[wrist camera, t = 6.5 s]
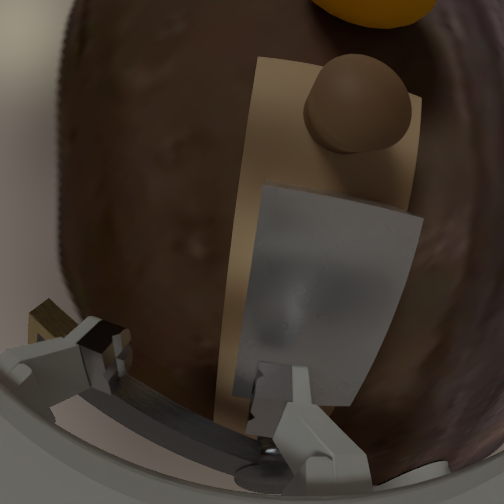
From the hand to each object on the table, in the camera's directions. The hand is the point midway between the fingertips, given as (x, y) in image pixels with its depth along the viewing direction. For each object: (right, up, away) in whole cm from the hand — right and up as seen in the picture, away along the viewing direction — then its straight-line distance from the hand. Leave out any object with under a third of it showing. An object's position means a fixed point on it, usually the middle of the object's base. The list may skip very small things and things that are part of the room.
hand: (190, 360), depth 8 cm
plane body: (+4, +1, +8) cm, 9 cm away
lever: (-1, -3, +1) cm, 3 cm away
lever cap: (+4, +2, +3) cm, 6 cm away
